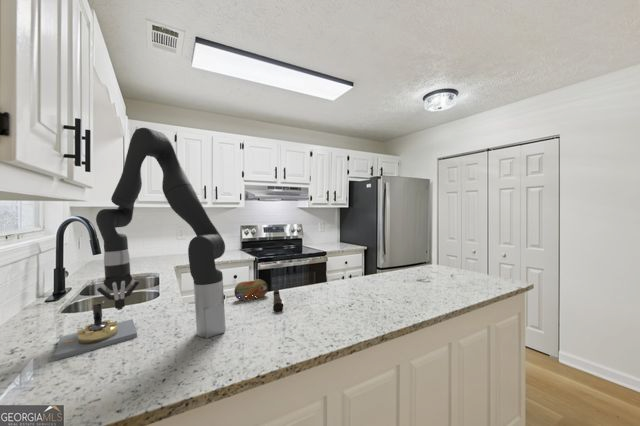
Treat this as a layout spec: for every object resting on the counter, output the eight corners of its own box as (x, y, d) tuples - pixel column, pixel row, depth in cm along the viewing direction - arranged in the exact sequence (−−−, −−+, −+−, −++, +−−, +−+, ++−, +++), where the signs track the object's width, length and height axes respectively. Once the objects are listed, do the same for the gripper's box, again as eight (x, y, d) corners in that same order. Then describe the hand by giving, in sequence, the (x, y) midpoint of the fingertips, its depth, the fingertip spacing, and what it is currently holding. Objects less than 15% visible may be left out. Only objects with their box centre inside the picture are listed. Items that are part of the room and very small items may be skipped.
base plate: (137, 337, 91) (136, 332, 91) (54, 360, 78) (53, 355, 78) (132, 322, 103) (132, 318, 103) (60, 341, 91) (60, 336, 91)
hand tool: (283, 312, 107) (283, 300, 107) (273, 313, 107) (272, 301, 107) (282, 297, 126) (282, 287, 126) (273, 298, 125) (273, 288, 125)
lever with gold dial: (118, 336, 89) (116, 310, 88) (77, 347, 82) (75, 319, 82) (116, 322, 100) (114, 299, 100) (80, 331, 94) (78, 307, 94)
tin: (235, 302, 121) (234, 283, 121) (234, 300, 124) (233, 282, 124) (268, 296, 127) (267, 278, 127) (267, 294, 130) (266, 277, 130)
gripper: (93, 267, 93) (96, 317, 93) (139, 260, 101) (142, 306, 102) (94, 264, 99) (97, 311, 99) (137, 258, 107) (140, 302, 107)
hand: (120, 309), depth 100 cm, fingers closed
